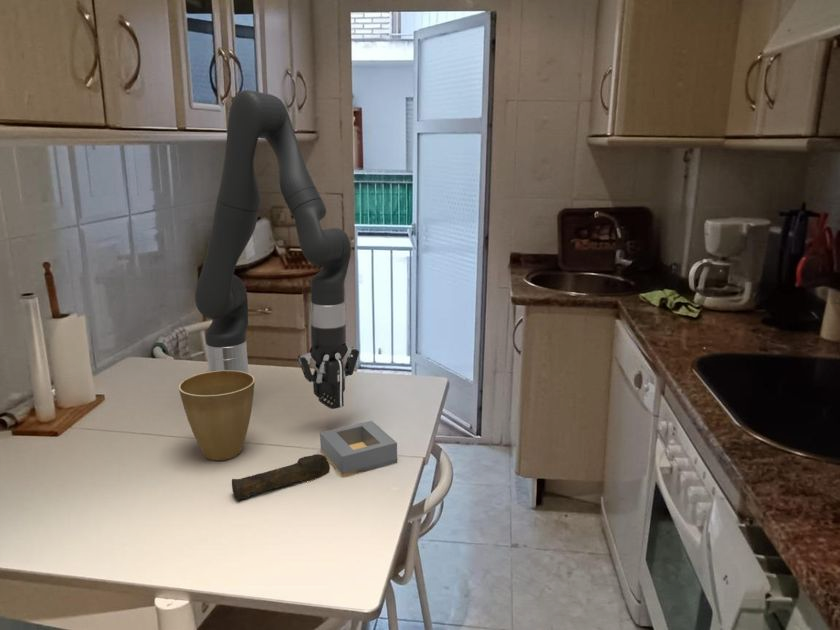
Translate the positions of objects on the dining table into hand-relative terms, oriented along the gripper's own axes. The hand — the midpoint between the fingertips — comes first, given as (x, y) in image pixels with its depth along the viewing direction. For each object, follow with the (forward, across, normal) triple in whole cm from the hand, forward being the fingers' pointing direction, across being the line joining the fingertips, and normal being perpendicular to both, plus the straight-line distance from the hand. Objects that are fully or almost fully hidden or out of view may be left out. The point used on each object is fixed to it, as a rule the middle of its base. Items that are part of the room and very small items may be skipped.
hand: (329, 394), depth 141 cm
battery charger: (+3, 0, 0) cm, 3 cm away
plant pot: (+9, -23, +2) cm, 25 cm away
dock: (+9, +1, -14) cm, 17 cm away
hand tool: (+9, -16, -17) cm, 25 cm away
